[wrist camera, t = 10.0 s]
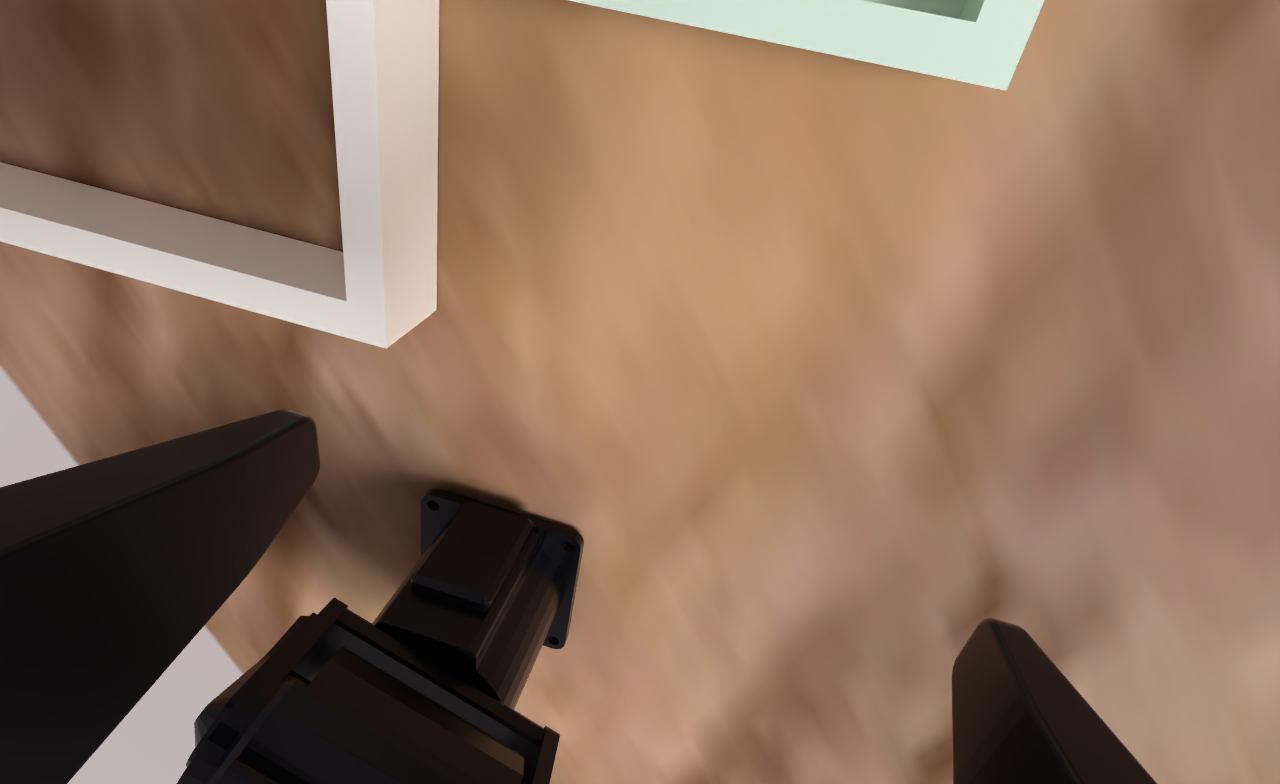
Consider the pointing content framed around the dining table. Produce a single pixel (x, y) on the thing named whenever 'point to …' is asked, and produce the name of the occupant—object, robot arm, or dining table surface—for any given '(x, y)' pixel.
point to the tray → (872, 30)
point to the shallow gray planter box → (272, 264)
